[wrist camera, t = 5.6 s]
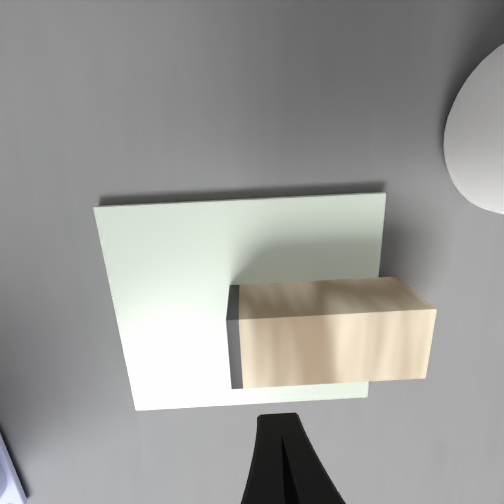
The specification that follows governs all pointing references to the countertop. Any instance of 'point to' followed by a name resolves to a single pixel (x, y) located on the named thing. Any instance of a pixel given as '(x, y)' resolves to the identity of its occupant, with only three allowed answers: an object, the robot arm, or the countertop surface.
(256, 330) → the birch block
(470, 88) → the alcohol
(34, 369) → the countertop surface
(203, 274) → the sage board
